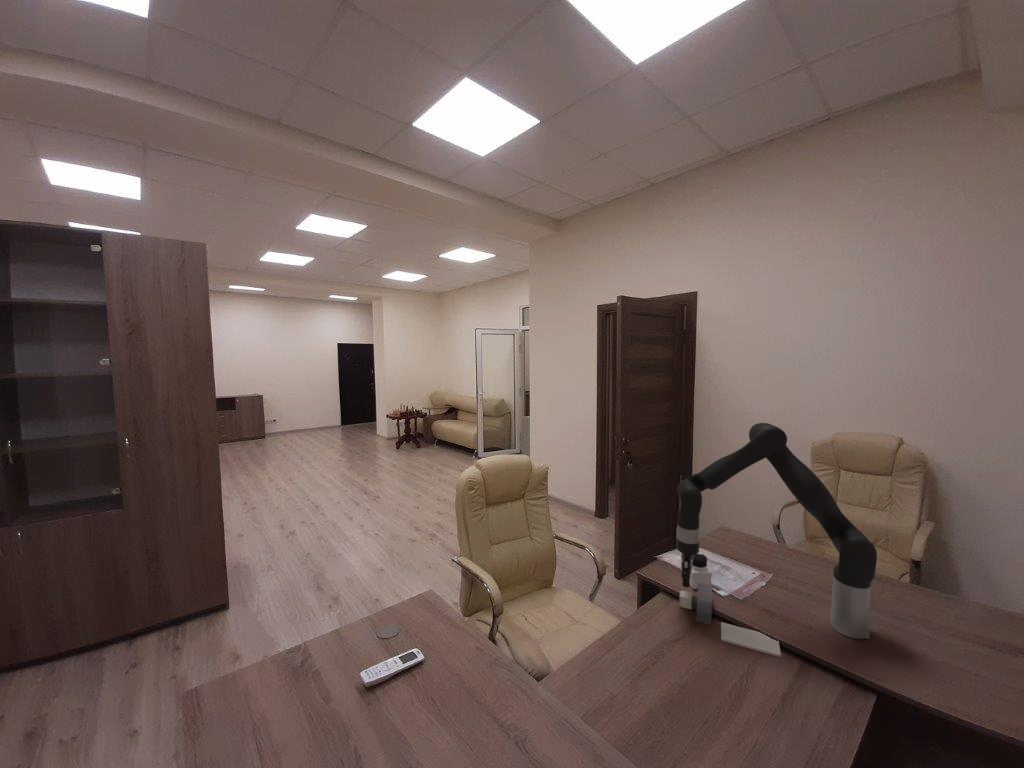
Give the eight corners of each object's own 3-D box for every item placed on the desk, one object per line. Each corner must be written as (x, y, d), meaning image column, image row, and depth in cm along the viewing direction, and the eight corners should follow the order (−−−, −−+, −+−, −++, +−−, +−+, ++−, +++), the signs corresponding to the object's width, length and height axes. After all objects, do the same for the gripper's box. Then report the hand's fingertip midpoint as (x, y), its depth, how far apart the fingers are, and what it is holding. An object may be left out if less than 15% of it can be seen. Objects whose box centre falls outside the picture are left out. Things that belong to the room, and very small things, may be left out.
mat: (777, 639, 127) (777, 636, 127) (780, 657, 120) (781, 655, 120) (721, 624, 135) (721, 622, 134) (721, 640, 128) (721, 638, 127)
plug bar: (713, 608, 143) (713, 597, 142) (713, 615, 139) (713, 604, 139) (680, 599, 148) (680, 589, 147) (679, 606, 144) (679, 596, 144)
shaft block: (711, 598, 147) (712, 582, 147) (711, 625, 134) (711, 607, 133) (698, 595, 149) (698, 579, 149) (696, 621, 136) (696, 603, 136)
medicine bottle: (711, 589, 153) (712, 560, 151) (692, 590, 153) (693, 560, 151) (702, 578, 160) (703, 550, 158) (684, 578, 160) (685, 550, 158)
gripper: (698, 549, 133) (697, 594, 135) (700, 530, 146) (699, 571, 148) (674, 544, 137) (673, 588, 139) (678, 526, 149) (677, 566, 151)
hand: (686, 579), depth 143 cm, fingers open, 8 cm apart
